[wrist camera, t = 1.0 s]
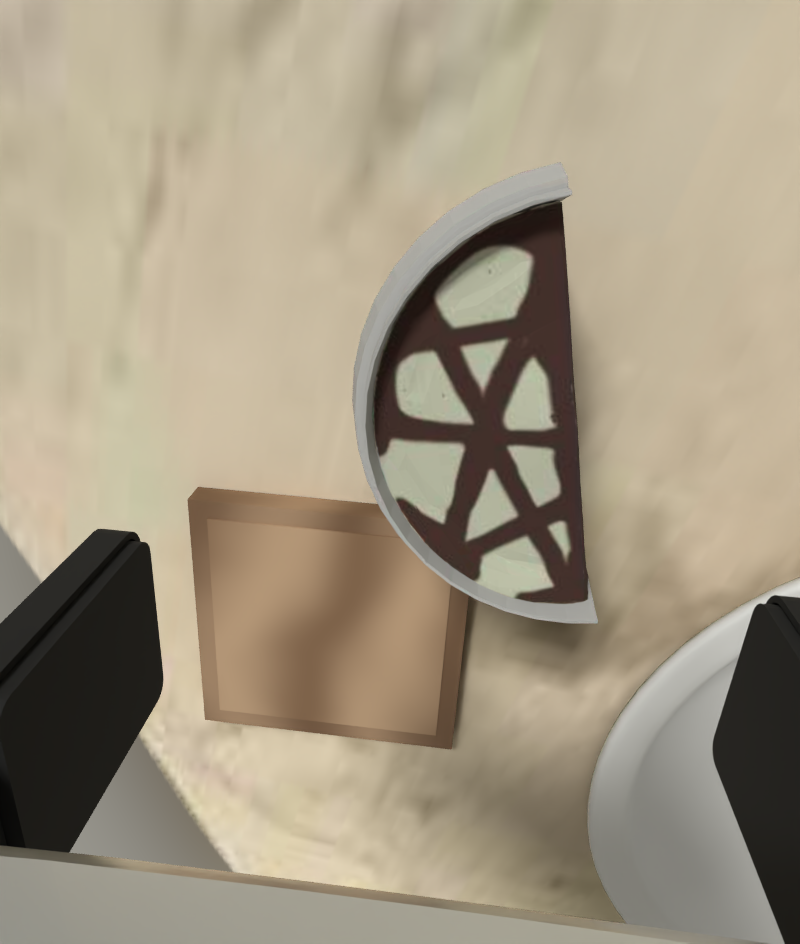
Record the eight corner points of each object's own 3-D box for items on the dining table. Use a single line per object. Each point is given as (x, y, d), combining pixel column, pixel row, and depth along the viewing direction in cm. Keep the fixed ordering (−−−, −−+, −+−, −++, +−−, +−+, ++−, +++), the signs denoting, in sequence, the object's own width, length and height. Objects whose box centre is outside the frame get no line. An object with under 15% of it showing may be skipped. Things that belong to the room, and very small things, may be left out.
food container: (360, 188, 25) (291, 210, 16) (537, 158, 24) (570, 163, 15) (413, 500, 30) (383, 652, 21) (562, 485, 29) (598, 639, 20)
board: (476, 514, 30) (476, 528, 29) (452, 730, 35) (451, 750, 34) (198, 487, 31) (186, 500, 30) (213, 702, 36) (204, 720, 35)
